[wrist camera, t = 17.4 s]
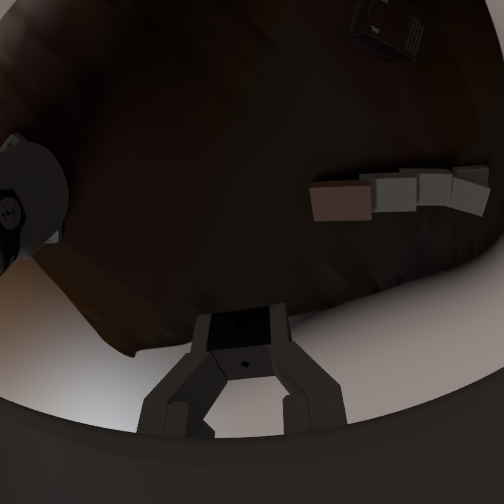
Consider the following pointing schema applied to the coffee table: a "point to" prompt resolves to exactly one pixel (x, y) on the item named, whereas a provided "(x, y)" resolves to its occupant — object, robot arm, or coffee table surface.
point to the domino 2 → (392, 191)
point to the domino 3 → (432, 185)
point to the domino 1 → (341, 200)
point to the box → (386, 29)
